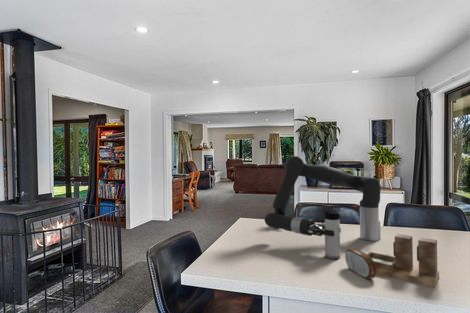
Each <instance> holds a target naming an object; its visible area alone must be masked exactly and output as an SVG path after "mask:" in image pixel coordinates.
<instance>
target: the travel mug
mask: <svg viewBox="0 0 470 313" xmlns="http://www.w3.org/2000/svg"><path fill="white" fill-rule="evenodd" d="M323 214H324V224H325V230H331V231H334V236H328V235H324V255H325V257H326V258H329V259H335V260H336V259H339V258H341V233H340V228H341V218H340V215H341V214H340V213H339V212H337V211H332V210H324V211H323Z"/></svg>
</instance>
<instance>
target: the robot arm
mask: <svg viewBox="0 0 470 313" xmlns="http://www.w3.org/2000/svg"><path fill="white" fill-rule="evenodd" d="M283 169H284V171H285V176H284V178H283V180H282V183H281V185H280V186H279V189H278V191H277V192H276V195H275V197H274V200H273V203H272V208H273V210H274V212H269V213H267V214H265V217H264V223H265V225H266V226H268V227H269V228H272V229H274V230H280V229H283V231H286V232H293V233H295V234H299V235H304V236H309V237H312V236H317V237H318V236H319V237H322V236H325V235H328V236H334V231H331V230H325V222H324V223H323V222H321V223H316V222H315V221H314V219H313V218H312V219H311V218H307V217H306V218H305V217H298V216H297V217H294V216H289V215H288V216H285V210H286V207H287V204H288V201H289V198H290V199H291V197H290V195H291V196H292V194H291V193H293V189H294V187H295V184H296V183H297V181H298V178H299V177H305V178H308V179H312V180H314V181H318V182H321V183H324V184H328V185H330V186H331V185H332V186H336V187H343V188H344V187H346V188H350V189H353V190H355V191H357V192H360V193H362V199H360V201H359V238H360V239H362V240H363V241H364V240H365V241H371V242H372V241H373V242H374V241H375V242H376V241H379V240H381V237H382V235H381V221H380V220H379V219H380V218H379V217H380V216H379V210H380V209H379V207H380V206H379V204H380V203H381V183H380V180H378V179H377V178H376V177H373V176H364V175H363V176H361V175H356V174H351V173H348V172H346V171H344V170H342V169H340V168H335V167H332V166H327V165H318V164H317V165H315V164H309V163H305V162H304V161H303V159H302V158H301V157H300V156H297V155H293V156H291V157H289V158H288V159H287V160H286V161H284V163H283ZM341 231H342V229H341V227H340V234H341Z"/></svg>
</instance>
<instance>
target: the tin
mask: <svg viewBox="0 0 470 313" xmlns="http://www.w3.org/2000/svg"><path fill="white" fill-rule="evenodd" d="M344 254H345V256H344V257H345V262H346V265H347V267H348V269H349V270H350V271H352V272H353V273H355V274H357V275H358V276H360V277H361V278H362V279H365V280H368V279H374V278H376V276H377V273H376V266H375V263H374V261H373V259H372V258H371V257H370V256H369V255H367V254H368V253H365V252H363V251H361V250H359V249H357V248H355V247H352V248H349V249H347V250H346V251H345V253H344Z"/></svg>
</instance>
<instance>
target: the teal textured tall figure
mask: <svg viewBox="0 0 470 313" xmlns="http://www.w3.org/2000/svg"><path fill="white" fill-rule="evenodd" d="M292 193H293V192H292ZM292 193H291V195H290V198H289V201H288V204H287V207H286V210H285V216H289V214H291V215H293V212H294V211H293V209H290V204H291V203H290V202H291V197H292Z"/></svg>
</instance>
